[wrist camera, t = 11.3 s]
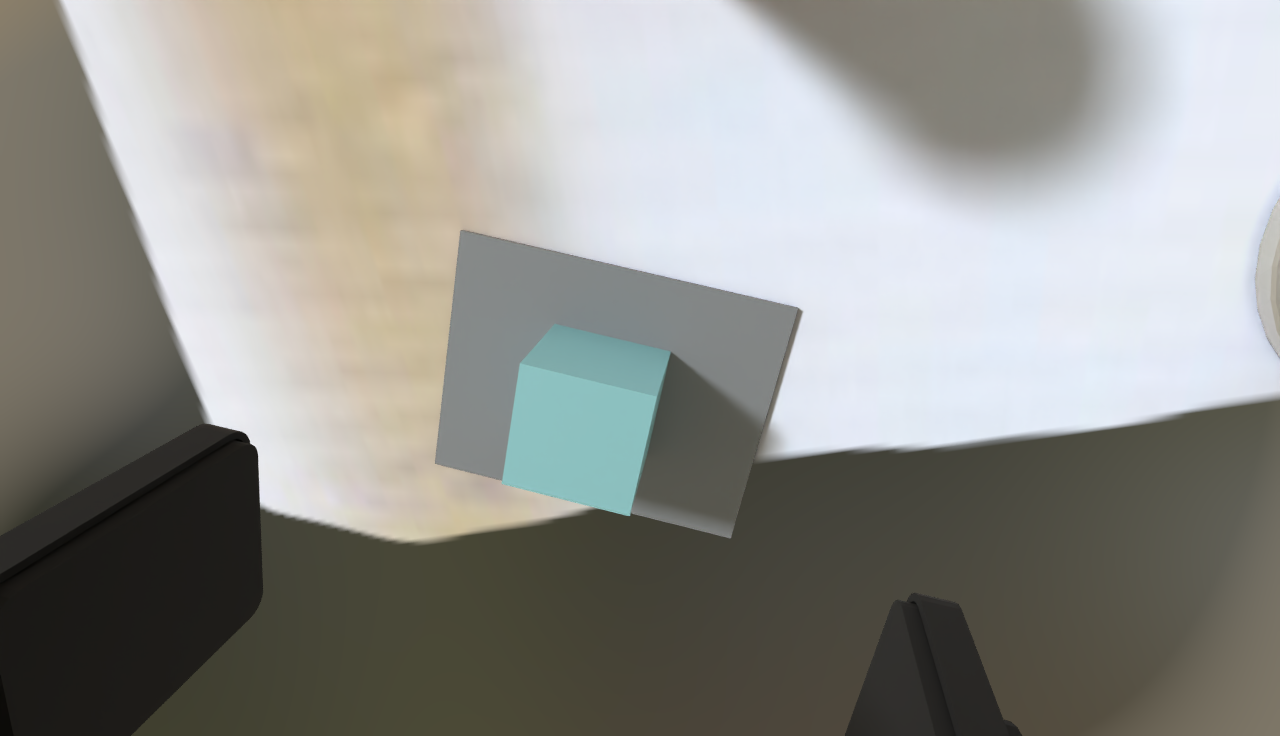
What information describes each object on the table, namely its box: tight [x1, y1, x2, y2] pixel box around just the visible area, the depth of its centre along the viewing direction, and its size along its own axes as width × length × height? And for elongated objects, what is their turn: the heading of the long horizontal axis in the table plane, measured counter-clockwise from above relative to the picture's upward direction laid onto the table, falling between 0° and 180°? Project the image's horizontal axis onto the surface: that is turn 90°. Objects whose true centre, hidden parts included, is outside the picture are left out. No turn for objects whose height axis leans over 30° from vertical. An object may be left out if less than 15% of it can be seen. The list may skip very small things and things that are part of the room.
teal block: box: [502, 324, 671, 516], centre depth 29 cm, size 5×5×5 cm
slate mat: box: [435, 230, 798, 538], centre depth 31 cm, size 14×11×1 cm
